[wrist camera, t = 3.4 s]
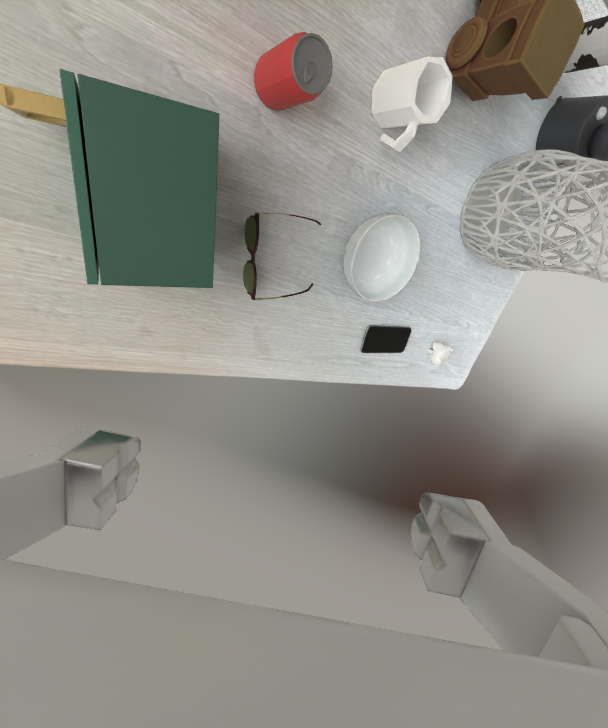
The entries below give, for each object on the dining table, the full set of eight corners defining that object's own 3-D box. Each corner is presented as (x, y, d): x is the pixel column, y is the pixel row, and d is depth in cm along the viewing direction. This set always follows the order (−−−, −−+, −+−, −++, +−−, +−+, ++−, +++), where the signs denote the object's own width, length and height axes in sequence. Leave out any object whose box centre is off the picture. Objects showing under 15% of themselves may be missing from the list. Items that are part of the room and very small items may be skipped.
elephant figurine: (438, 333, 95) (455, 341, 91) (441, 353, 100) (457, 362, 96) (420, 346, 94) (436, 355, 90) (424, 365, 99) (439, 375, 95)
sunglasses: (244, 208, 55) (257, 212, 51) (317, 214, 63) (333, 218, 59) (242, 293, 62) (253, 301, 58) (308, 289, 69) (322, 296, 66)
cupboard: (101, 252, 49) (101, 285, 36) (85, 101, 41) (77, 73, 28) (186, 258, 54) (212, 288, 42) (186, 126, 46) (219, 113, 34)
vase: (521, 231, 91) (661, 254, 68) (456, 276, 87) (581, 317, 64) (528, 131, 76) (711, 118, 53) (449, 181, 72) (610, 190, 49)
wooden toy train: (465, 113, 66) (551, 101, 53) (431, 80, 60) (519, 58, 47) (521, -14, 59) (634, -61, 47) (489, -67, 53) (609, -138, 40)
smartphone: (369, 325, 80) (412, 327, 87) (367, 324, 80) (410, 326, 88) (360, 353, 83) (403, 352, 90) (358, 351, 83) (401, 351, 91)
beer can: (245, 89, 48) (278, 73, 39) (264, 39, 46) (304, 9, 37) (281, 120, 52) (320, 112, 43) (301, 75, 50) (345, 56, 41)
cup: (537, 83, 71) (620, 69, 59) (519, 73, 68) (604, 55, 56) (552, 42, 68) (643, 18, 56) (535, 29, 64) (627, 1, 53)
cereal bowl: (368, 191, 64) (392, 193, 59) (409, 242, 75) (433, 248, 69) (317, 266, 67) (336, 275, 61) (364, 305, 77) (384, 315, 72)
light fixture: (669, 66, 64) (649, 146, 73) (579, 81, 76) (571, 148, 85) (622, 102, 62) (607, 179, 71) (537, 111, 74) (534, 176, 83)
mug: (380, 58, 54) (424, 42, 47) (415, 83, 59) (461, 72, 51) (356, 143, 59) (393, 140, 51) (391, 159, 63) (429, 159, 56)
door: (45, 248, 45) (23, 282, 33) (16, 83, 37) (-28, 43, 25) (99, 252, 48) (98, 284, 36) (82, 100, 40) (73, 72, 28)
